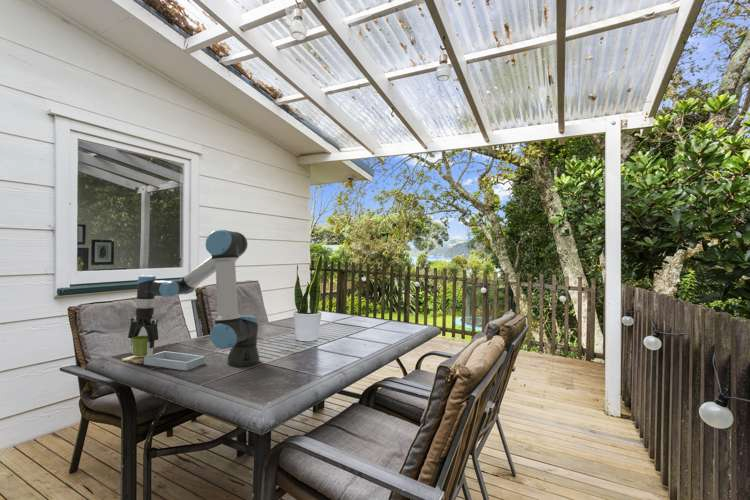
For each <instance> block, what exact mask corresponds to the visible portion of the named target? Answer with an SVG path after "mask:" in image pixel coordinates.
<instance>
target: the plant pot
mask: <svg viewBox="0 0 750 500" xmlns="http://www.w3.org/2000/svg"><path fill="white" fill-rule="evenodd" d="M130 339H132V340H133V345H134V353H133V354H134V355H135V356H137V357H140V356H147V343H148V341H149V339H148V335H147V334H146V335H145V334H144V335H138V336H136V337H132V338H130ZM132 340H131V341H132Z"/></svg>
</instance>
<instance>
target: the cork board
mask: <svg viewBox="0 0 750 500" xmlns="http://www.w3.org/2000/svg"><path fill="white" fill-rule="evenodd" d="M147 356H149V355H147ZM144 357H146V356H140V357H137V356H135V354H134V355H131V356H127V357H124V358H123V357H122V358H121V359H120V362H124V361H126V362H125V363H131V362H133V363H132V364H138V363H139V364H140V365H142V364H144Z"/></svg>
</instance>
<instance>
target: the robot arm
mask: <svg viewBox="0 0 750 500" xmlns="http://www.w3.org/2000/svg"><path fill="white" fill-rule="evenodd" d="M205 249H206V251H207V252H208V253H209V254H210V255H211V256H209V257H208V258H207V259H206V260H204V261H202V262H201V263H200V264H199V265H198V266H196V267H195V268H194V269H192V270H191V271H189V272H188V273H186V275H184V276H182V277H181V278H180V279H173V280H157V276H155V275H140V276H138V278H137V284H136V285H137V288H136V289H137V291H136V301H135V303H136V304H135V316H136V317H131V318H130V326H129V329H128V335H127V338H128V339H131V338H132V337H136V336H140V335H139V334H140V332H141V331H142V328H144V329H145V332H146V335H148V339H149V341H148V343H147V355H153V354H154V347H155V341H158V340H159V332H158V322H159V320H158V319H154V318H153V315H154V311H155V308H154V307H155V299H156V298H155V297H164V298H173V297H175V296H179V295H188V294H192V293H193V292H194V291H195V289H196V287H198V285H200V284H201V283H202V282H204V281H205V280H206V279H208V278H210V276H212V275H214V273H215V281H216V282H215V283H216V298H217V299H216V300H217V301H216V302H217V316H216V317H215V318H214V325H213V326H212V327H211V329H210V332H209V333H210V334H209V337H210V341H211V343H212V344H213V345H214V346H215V347H216V348H218V349H222V350H226V349H230V351H229V353H228V357H227V361H226V364H227V365H229V366H231V367H250V366H256V365H258V364H260V353H259V350H258V333H259V331H258V329H259V318H258V317H256V316H253V315H252V316H251V315H241V314H240V313H239V310H238V306H239V305H238V292H237V289H238V287H237V275H236V274H237V272H236V262H237V260H238V259H239V258H240V257H241V256H242V255H243V254H244V253H245V252H246V251H247V249H248V239H247V237H246V236H245V235H244V234H243V233H241V232H238V231H230V230H227V229H216V230H214V231H213V230H212V231H211V233H210V234H209V235H207V237H206V239H205ZM130 345H131V354H134V345H133V340H132V339H131V344H130Z"/></svg>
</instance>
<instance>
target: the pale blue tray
mask: <svg viewBox="0 0 750 500" xmlns="http://www.w3.org/2000/svg"><path fill="white" fill-rule="evenodd" d="M205 364H206V356H205V355H198V354H190V353H183V352H176V351H175V352H174V351H168V350H165V351H161V352H157V353H153V354H152V355H149V356H146V357H144V363H143V365H146V366H152V367H159V368H167V369H174V370H180V371H181V370H182V371H189V370H192V369H194V368H197V367H200V366H201V365H205Z"/></svg>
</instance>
